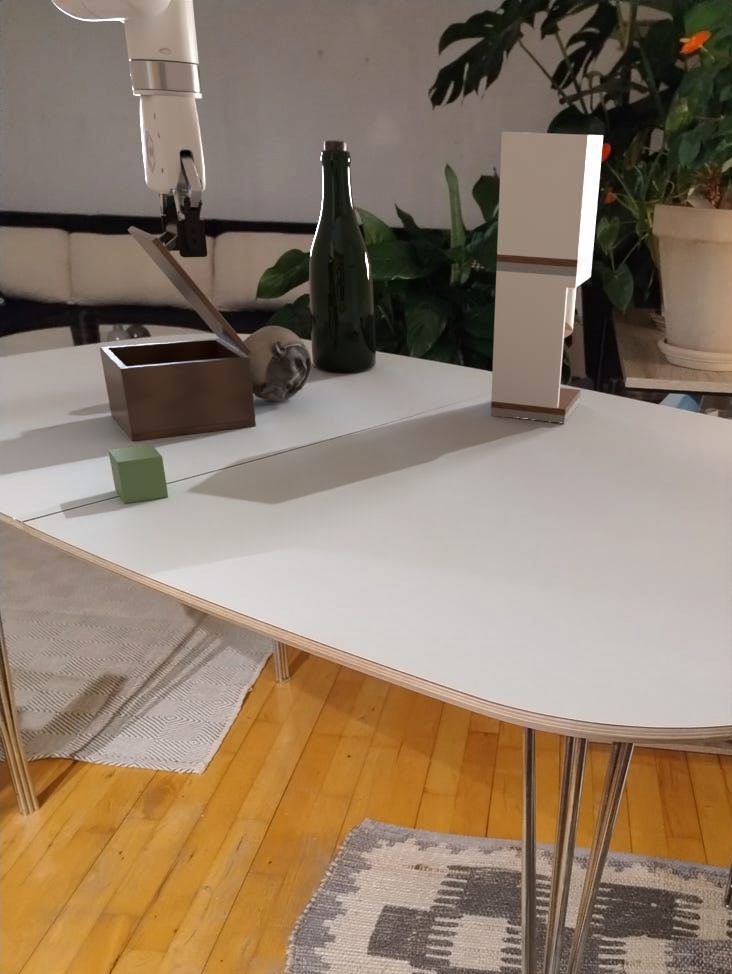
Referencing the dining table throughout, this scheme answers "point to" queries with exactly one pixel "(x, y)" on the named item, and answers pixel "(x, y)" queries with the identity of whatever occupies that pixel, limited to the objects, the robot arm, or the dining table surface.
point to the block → (138, 473)
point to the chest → (178, 388)
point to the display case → (541, 267)
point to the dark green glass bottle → (340, 275)
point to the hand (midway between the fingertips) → (185, 252)
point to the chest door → (186, 282)
